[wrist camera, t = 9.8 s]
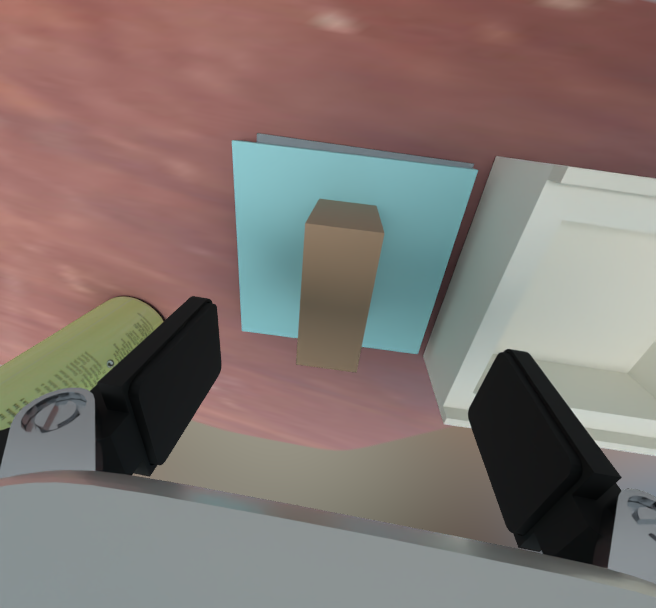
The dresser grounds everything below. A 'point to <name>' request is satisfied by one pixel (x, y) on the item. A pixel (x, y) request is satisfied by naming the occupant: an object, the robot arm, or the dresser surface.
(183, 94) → the dresser surface
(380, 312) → the lid
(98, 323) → the tube
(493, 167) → the box
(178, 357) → the robot arm
